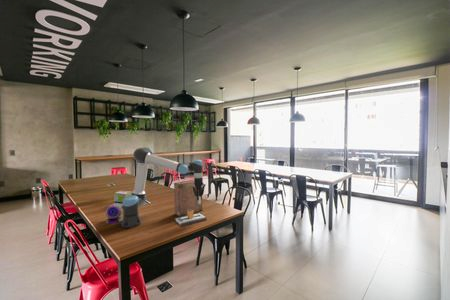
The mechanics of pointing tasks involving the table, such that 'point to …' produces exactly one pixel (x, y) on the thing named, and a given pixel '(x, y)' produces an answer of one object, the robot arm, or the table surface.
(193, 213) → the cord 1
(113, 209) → the webcam
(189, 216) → the lever
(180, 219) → the panel
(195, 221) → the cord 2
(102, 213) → the table surface
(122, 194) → the tea box
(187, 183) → the book
